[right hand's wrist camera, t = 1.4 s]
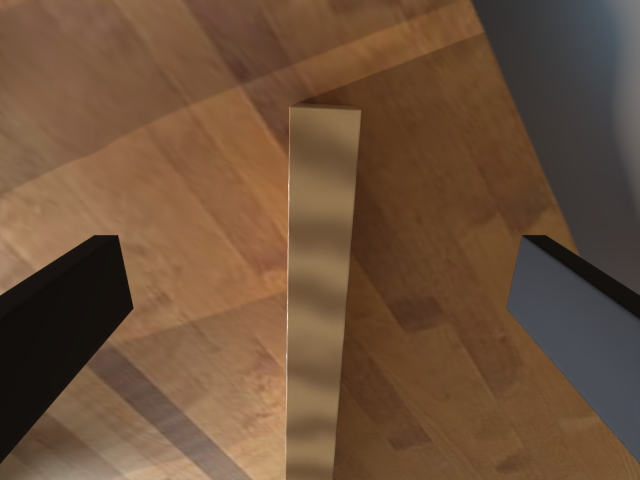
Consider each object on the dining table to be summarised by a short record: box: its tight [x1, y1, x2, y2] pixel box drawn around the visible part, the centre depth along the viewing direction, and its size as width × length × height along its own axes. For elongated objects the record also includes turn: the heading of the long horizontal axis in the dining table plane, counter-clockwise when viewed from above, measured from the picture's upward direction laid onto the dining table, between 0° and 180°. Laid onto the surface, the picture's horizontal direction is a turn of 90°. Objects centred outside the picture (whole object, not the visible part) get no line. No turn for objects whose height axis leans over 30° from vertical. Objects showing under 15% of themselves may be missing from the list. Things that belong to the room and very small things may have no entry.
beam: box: [285, 103, 362, 480], centre depth 44 cm, size 72×5×8 cm, turn 178°
